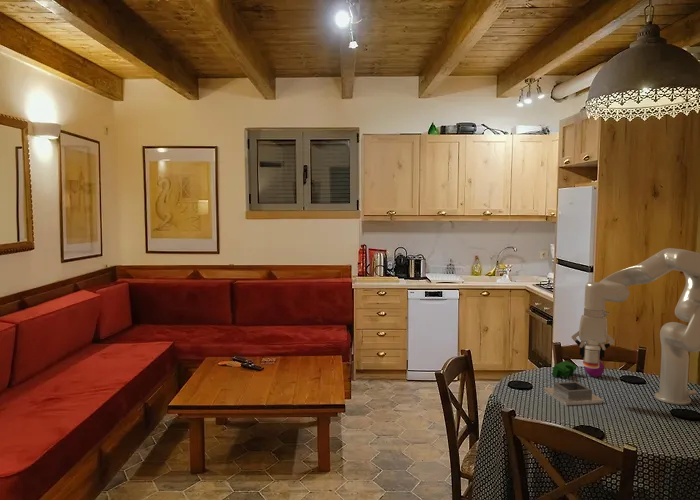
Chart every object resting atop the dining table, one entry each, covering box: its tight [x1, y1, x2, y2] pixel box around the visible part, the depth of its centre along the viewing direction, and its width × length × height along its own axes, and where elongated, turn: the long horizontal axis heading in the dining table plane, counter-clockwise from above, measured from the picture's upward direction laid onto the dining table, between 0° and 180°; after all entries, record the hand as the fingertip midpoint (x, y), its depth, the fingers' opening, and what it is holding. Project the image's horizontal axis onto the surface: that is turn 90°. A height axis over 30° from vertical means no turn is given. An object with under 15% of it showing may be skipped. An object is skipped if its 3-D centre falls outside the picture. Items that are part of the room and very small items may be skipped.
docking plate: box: [543, 381, 603, 407], centre depth 216 cm, size 16×16×4 cm
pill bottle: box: [582, 340, 601, 369], centre depth 210 cm, size 6×6×11 cm
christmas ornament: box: [584, 360, 605, 378], centre depth 243 cm, size 8×8×10 cm
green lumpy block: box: [551, 360, 578, 379], centre depth 243 cm, size 12×6×9 cm, turn 126°
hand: (591, 357), depth 210 cm, fingers closed on pill bottle, 6 cm apart
